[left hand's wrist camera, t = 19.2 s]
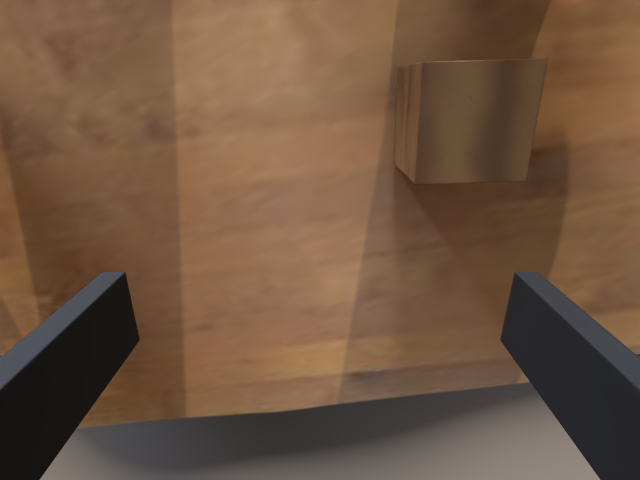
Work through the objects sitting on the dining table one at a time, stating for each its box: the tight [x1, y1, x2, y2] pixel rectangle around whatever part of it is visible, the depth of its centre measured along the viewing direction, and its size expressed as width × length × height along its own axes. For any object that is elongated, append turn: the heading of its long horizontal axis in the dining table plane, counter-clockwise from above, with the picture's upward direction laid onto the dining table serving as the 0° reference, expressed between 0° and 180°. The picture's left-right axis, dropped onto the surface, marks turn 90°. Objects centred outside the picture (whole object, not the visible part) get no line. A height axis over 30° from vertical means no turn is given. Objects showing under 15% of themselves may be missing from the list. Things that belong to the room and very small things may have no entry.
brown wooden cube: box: [394, 58, 548, 185], centre depth 32 cm, size 9×9×9 cm
